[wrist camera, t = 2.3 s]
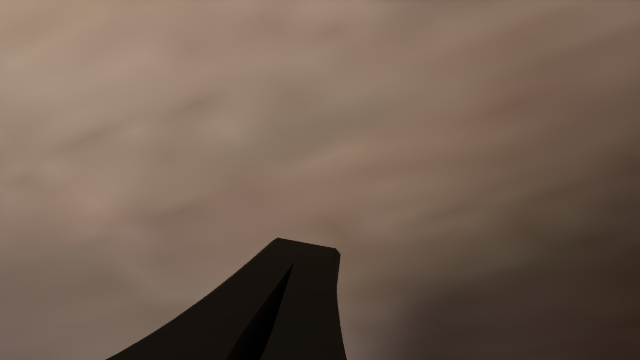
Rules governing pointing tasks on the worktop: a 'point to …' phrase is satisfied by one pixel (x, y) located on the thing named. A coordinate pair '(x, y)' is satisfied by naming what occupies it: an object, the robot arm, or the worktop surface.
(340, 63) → the worktop surface
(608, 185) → the worktop surface
